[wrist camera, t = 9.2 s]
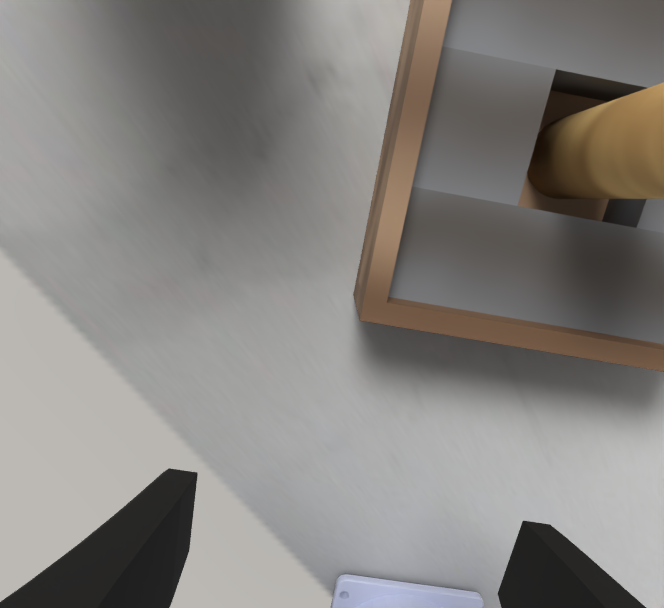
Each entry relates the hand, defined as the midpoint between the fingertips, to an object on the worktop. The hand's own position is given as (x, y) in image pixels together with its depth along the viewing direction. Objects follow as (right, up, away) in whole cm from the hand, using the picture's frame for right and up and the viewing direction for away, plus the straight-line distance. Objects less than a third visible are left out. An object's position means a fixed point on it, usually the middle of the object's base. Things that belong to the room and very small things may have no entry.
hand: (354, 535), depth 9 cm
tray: (+9, +11, +8) cm, 16 cm away
